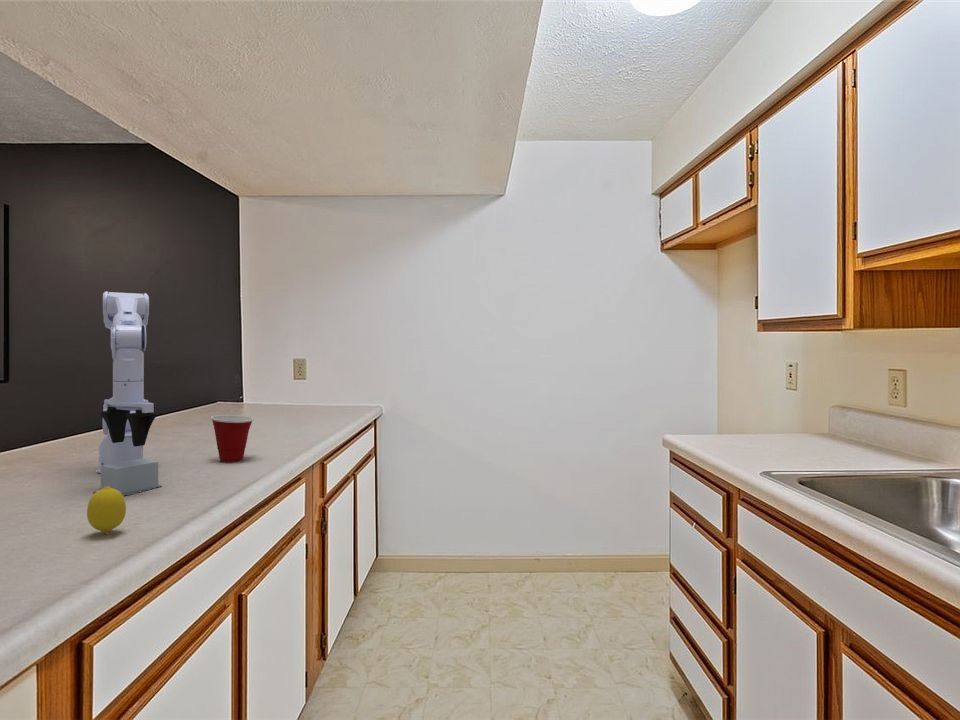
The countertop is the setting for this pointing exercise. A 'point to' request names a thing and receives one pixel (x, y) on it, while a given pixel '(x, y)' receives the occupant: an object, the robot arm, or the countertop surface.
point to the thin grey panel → (136, 491)
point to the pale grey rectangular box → (130, 475)
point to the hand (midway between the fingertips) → (128, 444)
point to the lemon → (106, 509)
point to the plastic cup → (231, 436)
